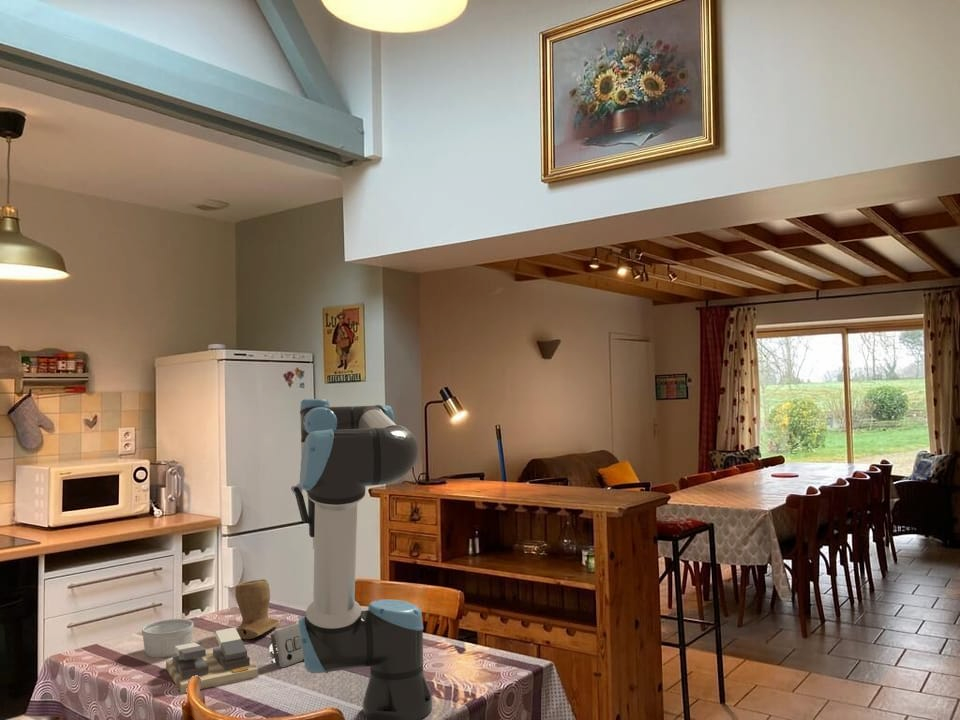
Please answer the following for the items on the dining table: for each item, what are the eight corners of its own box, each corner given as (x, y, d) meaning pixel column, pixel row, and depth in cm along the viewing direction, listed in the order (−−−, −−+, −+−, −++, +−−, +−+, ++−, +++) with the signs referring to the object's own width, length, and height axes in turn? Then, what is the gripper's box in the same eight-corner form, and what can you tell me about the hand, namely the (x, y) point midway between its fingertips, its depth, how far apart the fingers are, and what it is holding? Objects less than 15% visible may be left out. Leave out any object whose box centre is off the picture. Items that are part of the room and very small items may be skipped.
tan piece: (249, 623, 237) (248, 574, 238) (284, 625, 234) (284, 575, 235) (221, 639, 222) (220, 587, 223) (258, 642, 220) (257, 588, 220)
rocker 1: (205, 659, 190) (205, 649, 191) (184, 663, 188) (184, 653, 188) (195, 652, 201) (195, 642, 201) (174, 655, 198) (174, 646, 198)
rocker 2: (246, 659, 196) (247, 651, 196) (226, 663, 193) (226, 655, 193) (234, 635, 206) (235, 627, 206) (215, 639, 203) (215, 630, 203)
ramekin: (202, 643, 220) (201, 618, 220) (179, 660, 207) (179, 633, 207) (157, 643, 221) (157, 618, 221) (132, 659, 208) (132, 633, 208)
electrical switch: (282, 669, 198) (279, 631, 199) (269, 666, 201) (267, 630, 202) (311, 658, 205) (308, 622, 206) (299, 656, 209) (296, 621, 210)
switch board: (257, 676, 193) (257, 660, 193) (181, 693, 184) (181, 676, 184) (236, 654, 210) (236, 639, 210) (165, 668, 201) (165, 652, 201)
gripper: (334, 455, 210) (335, 543, 209) (286, 458, 203) (288, 550, 202) (344, 457, 203) (346, 548, 203) (296, 460, 196) (297, 555, 196)
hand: (317, 549), depth 202 cm, fingers closed
